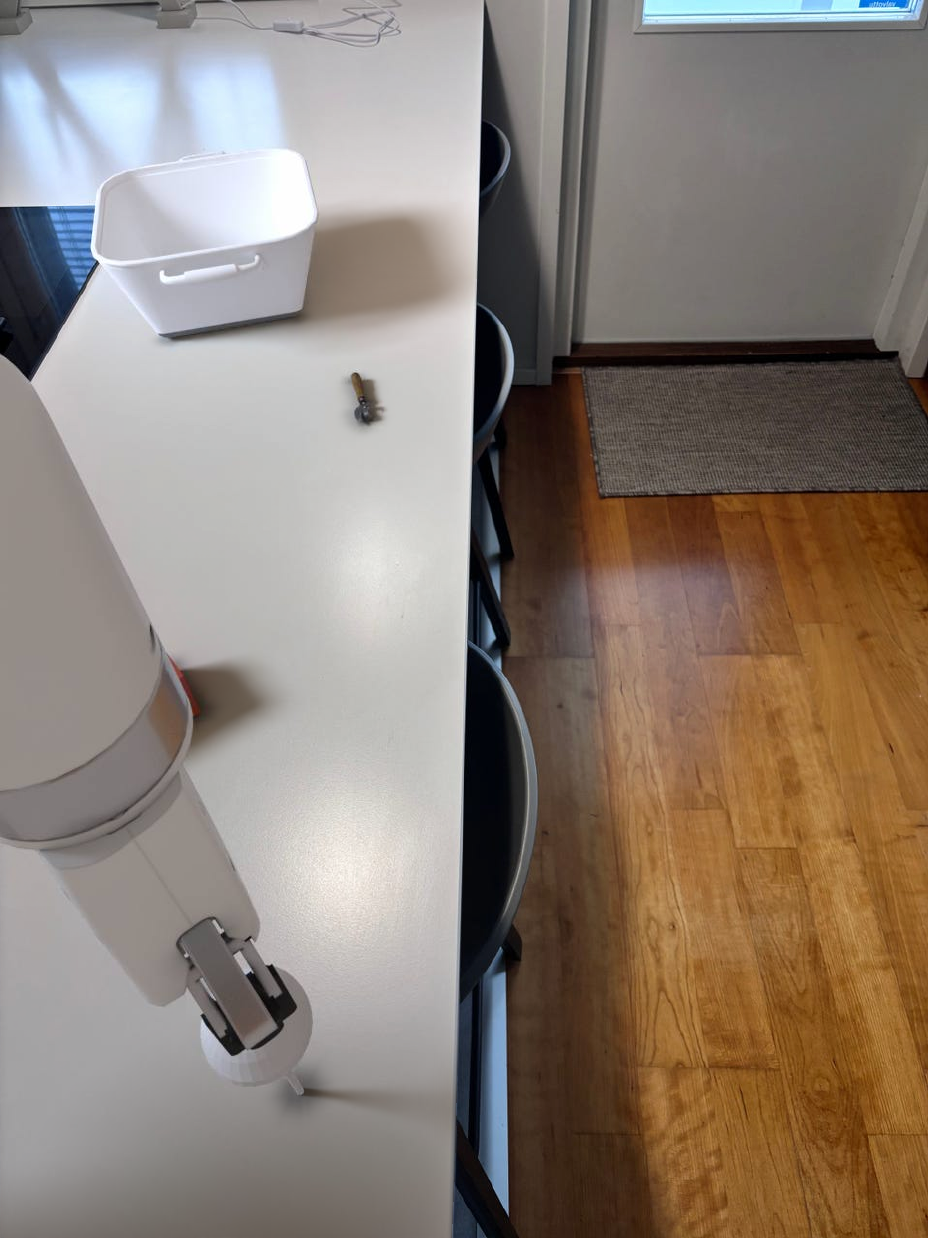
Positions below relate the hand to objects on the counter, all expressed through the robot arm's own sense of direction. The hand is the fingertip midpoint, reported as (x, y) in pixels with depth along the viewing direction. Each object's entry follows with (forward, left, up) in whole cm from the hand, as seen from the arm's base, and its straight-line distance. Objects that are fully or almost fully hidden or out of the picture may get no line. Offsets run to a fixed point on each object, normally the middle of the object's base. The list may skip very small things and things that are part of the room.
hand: (210, 940), depth 43 cm
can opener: (+43, +59, -23) cm, 76 cm away
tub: (+43, +91, -23) cm, 103 cm away
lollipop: (0, 0, -23) cm, 23 cm away
